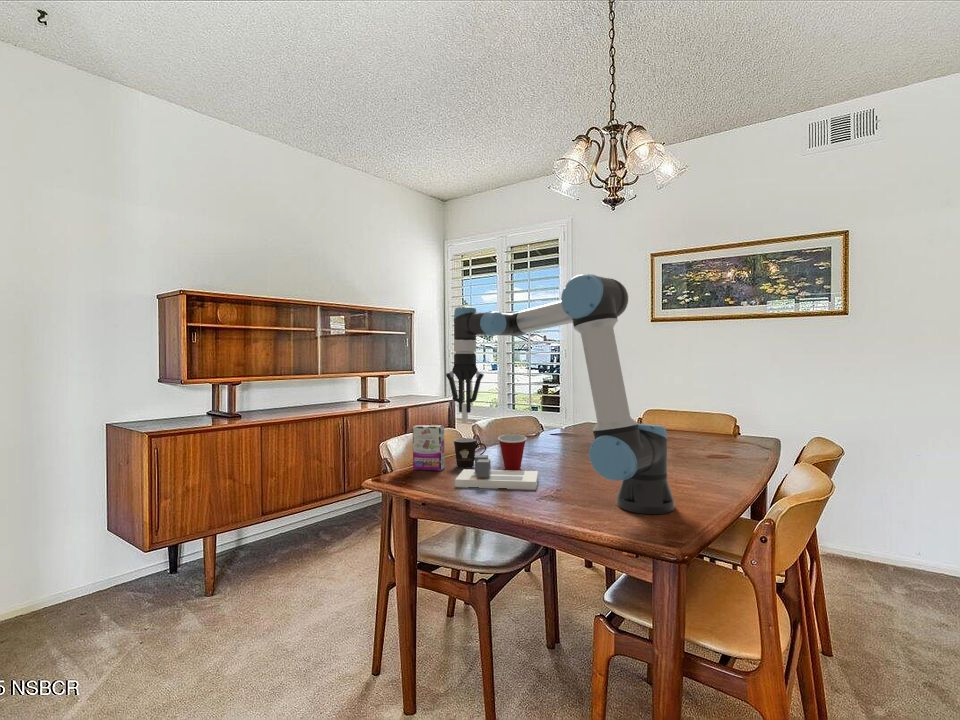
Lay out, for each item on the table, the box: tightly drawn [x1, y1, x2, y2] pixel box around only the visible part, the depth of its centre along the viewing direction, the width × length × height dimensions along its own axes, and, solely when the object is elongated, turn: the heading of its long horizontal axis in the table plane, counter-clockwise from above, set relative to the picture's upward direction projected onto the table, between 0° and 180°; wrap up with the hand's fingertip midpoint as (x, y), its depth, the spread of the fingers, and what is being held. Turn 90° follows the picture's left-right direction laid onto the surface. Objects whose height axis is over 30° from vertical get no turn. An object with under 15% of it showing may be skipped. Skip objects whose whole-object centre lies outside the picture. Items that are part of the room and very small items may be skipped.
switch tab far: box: [474, 454, 489, 472], centre depth 170 cm, size 4×4×5 cm
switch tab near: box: [477, 459, 492, 478], centre depth 163 cm, size 4×4×5 cm
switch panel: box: [454, 468, 539, 491], centre depth 166 cm, size 14×26×3 cm, turn 81°
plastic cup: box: [497, 434, 528, 471], centre depth 185 cm, size 11×11×12 cm
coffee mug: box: [453, 437, 487, 468], centre depth 190 cm, size 12×9×10 cm
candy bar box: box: [411, 424, 446, 472], centre depth 186 cm, size 11×5×16 cm, turn 76°
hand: (464, 422), depth 169 cm, fingers closed
